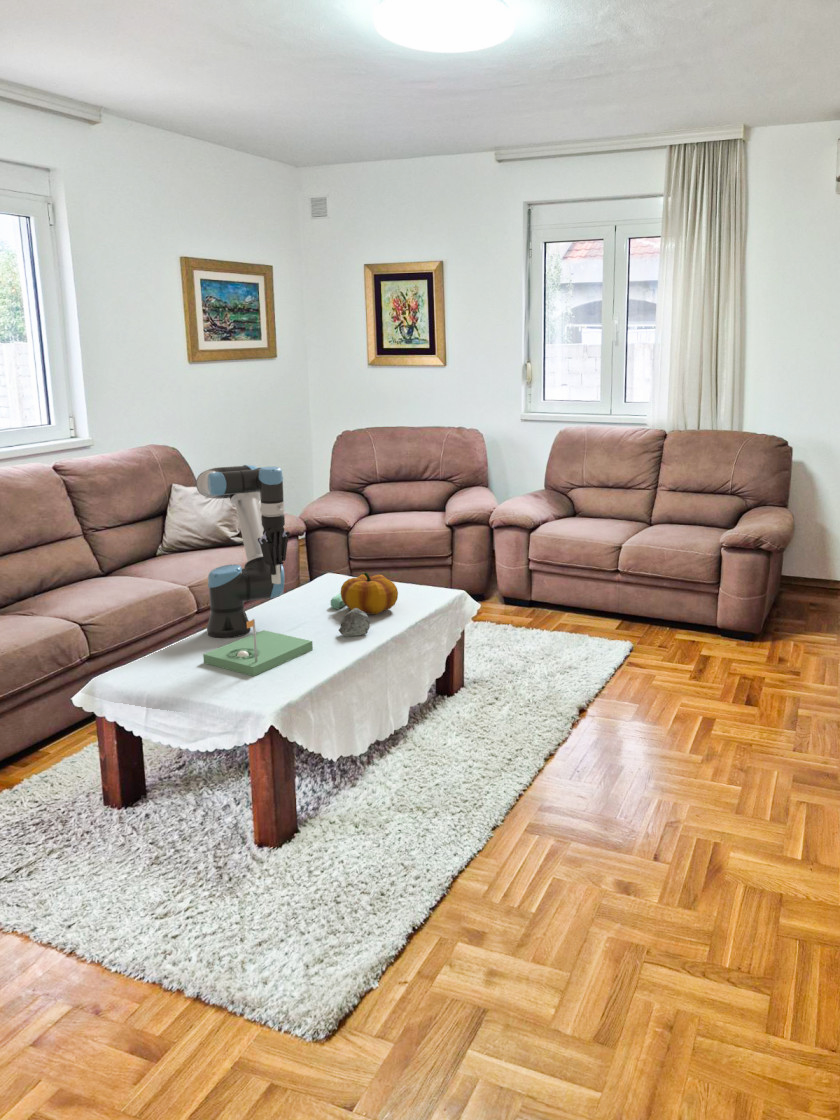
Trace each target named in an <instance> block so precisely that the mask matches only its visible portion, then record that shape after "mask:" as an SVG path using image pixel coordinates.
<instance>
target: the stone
mask: <svg viewBox="0 0 840 1120" xmlns="http://www.w3.org/2000/svg"><path fill="white" fill-rule="evenodd" d="M369 629H370V619H369V615H368V613H365V612H363V611H361V610H360V609H358V608H354V609H353V610H351V609H350V611H348V612H347V613H346V614H345V615H343V618H342V619H341V622H340V628H338V632H339V633H340V634H341V636H344V637H354V636H363V635H367V634H368V631H369Z"/></svg>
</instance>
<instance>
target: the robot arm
mask: <svg viewBox="0 0 840 1120" xmlns="http://www.w3.org/2000/svg"><path fill="white" fill-rule="evenodd" d="M195 486H196V487H195V488H196V490H197V491H198V493H199V494H200V495H201V496H203V497H205V498H209V499H215V500H216V499H219V500H221V499H223V500H224V499H229V501H230V504H231V505H232V506H234V507H235V509H236V513H237V519H238V522H239V527H240V533H241V537H242V542H243V546H244V552H245V557H246V562H245V564H244V565H243V566H244V568H243V567H242V566H241V565H239V564H228V565H227V564H224V565H221V566H219V567H216V568H213V569H212V570H211V571H210V572H209V573H208V576H207V577H208V578H207V579H208V581H207V582H208V583H207V587H208V593H209V594H208V595H209V596H208V597H209V606H210V607H209V608H210V613H209V616H208V617H209V618H208V623H207V625H206V633H207V636H209V637H211V638H219V639H231V638H237V637H241V636H245V635H246V634H248V633H250V631H251V627H250V628H248V629H247V622H248V621H249V619H248V618H249V617H248V614H247V613H246V611H245V604H244V603H245V602H250V601H258V600H268V599H269V600H270V599H273V598H278V597H281V596H282V595H283V593H284V588H285V569H284V566H283V564H284V562H285V561H286V557H287V550H288V543H289V541H288V540H289V538H290V535H291V534H290V533H291V532H290V531H287V530H285V524H286V521H285V514H284V513H285V504H284V503H285V501H284V476H283V470H282V468H281V467H279V466H262V467H261V466H260V467H257V466H256V465H251V464H250V465H249V464H247V465H246V464H244V465H238V466H237V465H235V466H222V467H214V468H209V469H207V470H206V469H205V471H202V472H201V473H200V474H199V475H198V476H197V478H196V482H195ZM259 502H260V503H259Z"/></svg>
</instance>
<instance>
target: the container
mask: <svg viewBox="0 0 840 1120" xmlns="http://www.w3.org/2000/svg"><path fill="white" fill-rule="evenodd" d="M330 606H331V608H333V609H336V610H339V609H341V608H343V607H344V606H346V605H345V603H344V602H343V600H342V598H341V593H340V592H339V593H338V594H336V595H335V596H334V597H332V598H331V599H330Z"/></svg>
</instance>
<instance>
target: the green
mask: <svg viewBox="0 0 840 1120" xmlns="http://www.w3.org/2000/svg"><path fill="white" fill-rule="evenodd" d="M248 628H250V629H251V628H253V629H252V633H253V634H251V635H248V636H245V637H243V638H241V639H237V640H236V641H235V640H234V641H233V642H231V643H227V644H225V645H223V646H221V647H218V648H216V649H214V650H213V649H212V650H210V651H208V652H205V653H203V654H202V655H203V656H202V658H203V664H207V665H209V666H214V667H218V668H222V669H225V670H229V671H233V672H238V673H240V674H244V675H247V676H253V677H255V676H257V675H259V674H262V673H264V672H266V671H269V670H271V669H273V668H275V667H277V666H279V665H283V664H284V663H286V662H289V661H291V660H293V659H295V658H298V657H300V656H302V655H304V654H306V653H308V652H311V651H313V648H314V647H313V640H309V639H305V638H301V637H300V638H299V637H296V636H292V635H287V634H281V633H278V632H273V631H269V630H265V629H263V630H260V631H258V632H256V619H255V618H252V619H251V620H248V622H247V629H248ZM240 651H246V652H248V654H249V656H246V657H237V654H238V652H240Z"/></svg>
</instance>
